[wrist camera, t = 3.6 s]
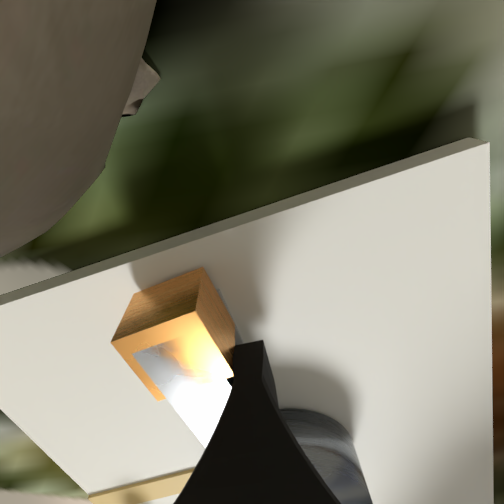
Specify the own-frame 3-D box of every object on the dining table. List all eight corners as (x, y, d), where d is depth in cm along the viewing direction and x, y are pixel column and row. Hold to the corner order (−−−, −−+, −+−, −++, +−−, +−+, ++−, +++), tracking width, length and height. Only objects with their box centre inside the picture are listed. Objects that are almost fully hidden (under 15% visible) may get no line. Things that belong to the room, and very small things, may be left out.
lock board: (468, 137, 11) (582, 164, 7) (483, 510, 21) (532, 596, 18) (-58, 314, 13) (-169, 402, 9) (191, 573, 24) (183, 661, 20)
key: (368, 476, 17) (390, 542, 15) (243, 511, 18) (244, 578, 16) (264, 239, 11) (273, 285, 8) (80, 311, 12) (40, 371, 9)
